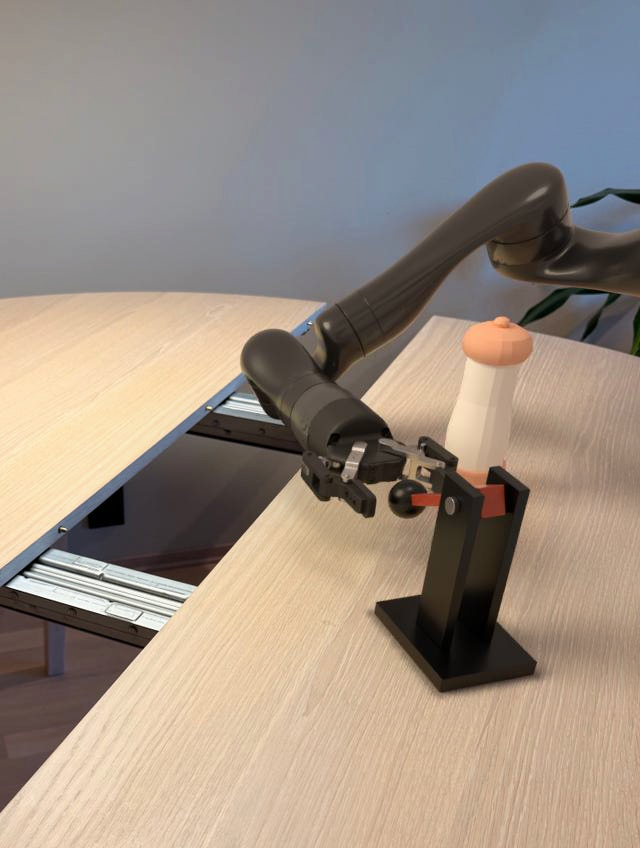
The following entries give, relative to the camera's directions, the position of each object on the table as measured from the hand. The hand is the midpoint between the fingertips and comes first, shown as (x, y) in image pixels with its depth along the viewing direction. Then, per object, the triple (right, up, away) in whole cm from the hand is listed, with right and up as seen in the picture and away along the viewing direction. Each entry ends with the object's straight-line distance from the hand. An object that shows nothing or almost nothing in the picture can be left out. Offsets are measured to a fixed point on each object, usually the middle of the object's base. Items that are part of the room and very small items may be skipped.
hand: (414, 502), depth 89 cm
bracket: (+3, -13, -2) cm, 13 cm away
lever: (+1, -2, -4) cm, 5 cm away
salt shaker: (+11, +5, +22) cm, 25 cm away
